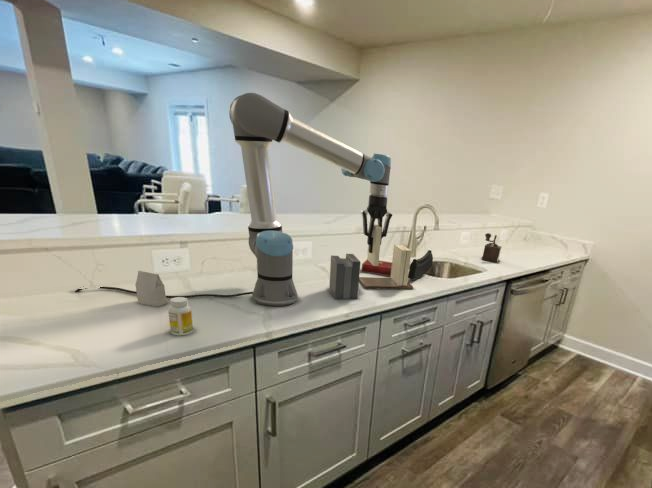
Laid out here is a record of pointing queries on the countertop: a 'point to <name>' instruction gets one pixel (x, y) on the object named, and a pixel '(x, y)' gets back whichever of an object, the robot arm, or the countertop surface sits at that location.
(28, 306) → the countertop surface
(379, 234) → the white book
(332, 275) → the grey books
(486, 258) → the manual coffee grinder
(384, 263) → the hardcover book
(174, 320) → the supplement bottle
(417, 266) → the magazine
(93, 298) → the countertop surface
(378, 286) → the shelf board
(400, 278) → the white books
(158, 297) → the grey stone
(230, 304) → the countertop surface
